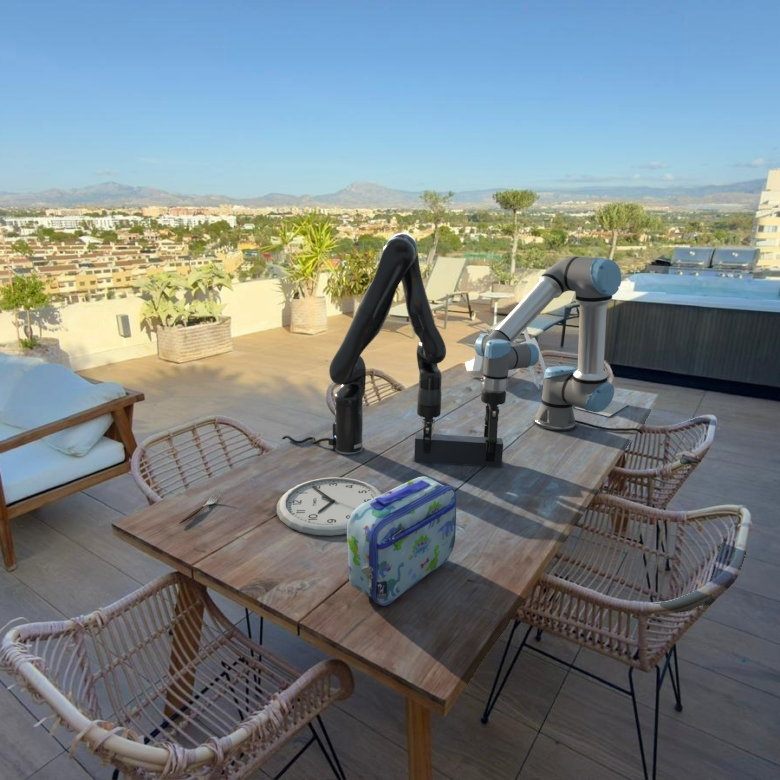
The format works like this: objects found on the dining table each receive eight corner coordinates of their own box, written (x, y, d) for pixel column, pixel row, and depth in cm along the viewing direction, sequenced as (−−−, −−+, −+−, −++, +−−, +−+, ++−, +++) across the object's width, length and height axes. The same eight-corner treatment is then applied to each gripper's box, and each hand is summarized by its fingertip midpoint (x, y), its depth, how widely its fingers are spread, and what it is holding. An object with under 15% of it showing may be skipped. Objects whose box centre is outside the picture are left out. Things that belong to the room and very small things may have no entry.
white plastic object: (486, 418, 267) (465, 395, 242) (467, 346, 289) (447, 318, 264) (556, 394, 255) (543, 367, 230) (531, 321, 277) (516, 289, 252)
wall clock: (392, 527, 129) (268, 531, 127) (391, 533, 130) (269, 537, 127) (383, 473, 158) (282, 475, 155) (383, 478, 158) (282, 480, 156)
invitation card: (608, 416, 214) (573, 407, 224) (608, 416, 214) (573, 408, 224) (628, 404, 229) (594, 396, 238) (628, 405, 229) (594, 397, 238)
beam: (500, 460, 172) (502, 438, 170) (501, 467, 167) (503, 444, 165) (415, 455, 175) (416, 432, 173) (414, 461, 171) (415, 438, 168)
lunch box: (376, 619, 101) (377, 524, 95) (340, 592, 109) (339, 502, 102) (459, 562, 119) (465, 479, 113) (424, 542, 126) (427, 463, 120)
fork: (175, 524, 132) (174, 517, 132) (215, 495, 146) (215, 489, 146) (183, 526, 131) (182, 519, 131) (223, 497, 146) (222, 490, 145)
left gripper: (419, 393, 174) (417, 440, 179) (415, 407, 160) (414, 458, 165) (441, 394, 173) (439, 442, 178) (440, 408, 159) (438, 459, 164)
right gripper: (480, 378, 175) (475, 437, 181) (484, 401, 151) (478, 468, 158) (502, 379, 174) (497, 438, 180) (510, 402, 151) (503, 470, 157)
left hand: (427, 449), depth 171 cm, fingers closed on beam, 5 cm apart
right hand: (488, 452), depth 169 cm, fingers open, 13 cm apart
